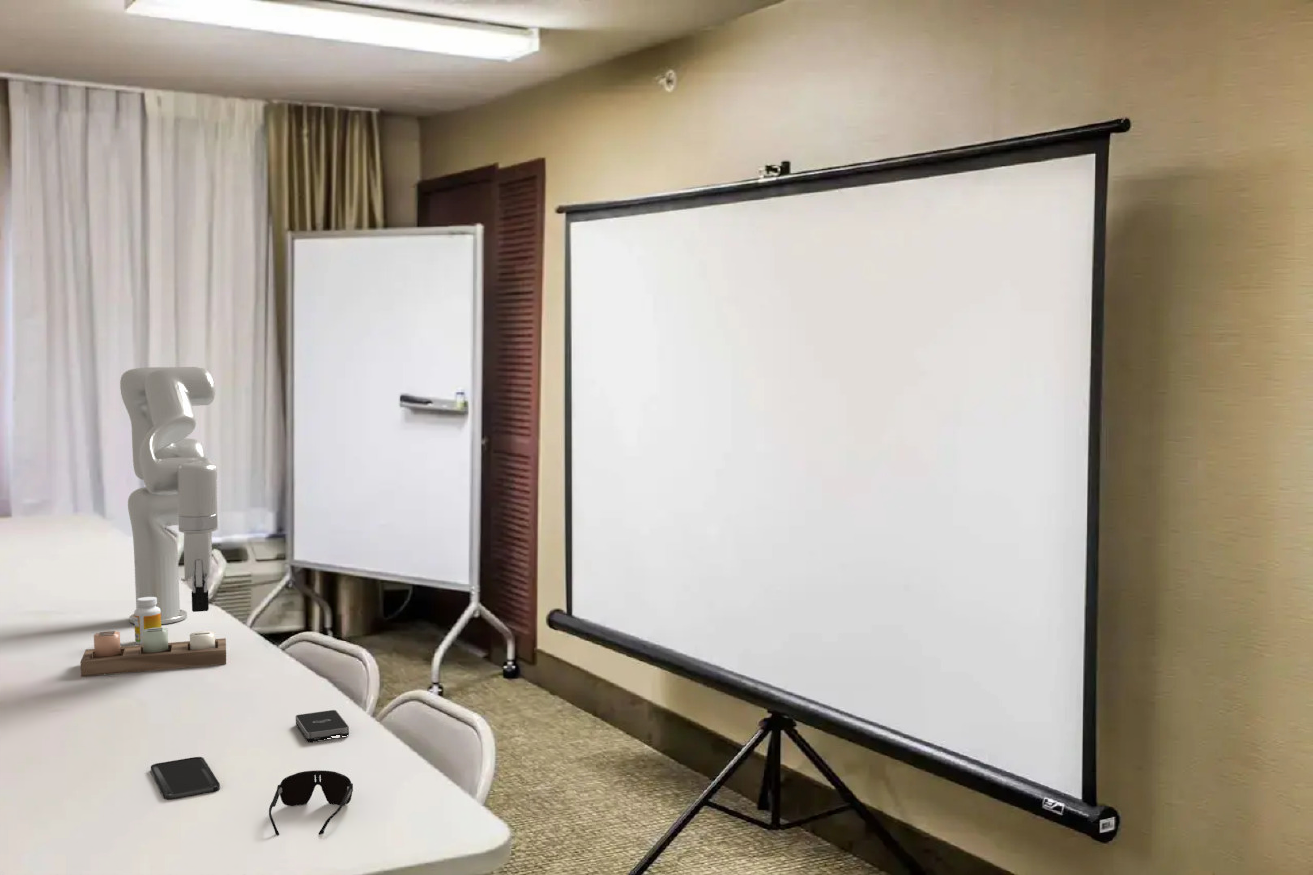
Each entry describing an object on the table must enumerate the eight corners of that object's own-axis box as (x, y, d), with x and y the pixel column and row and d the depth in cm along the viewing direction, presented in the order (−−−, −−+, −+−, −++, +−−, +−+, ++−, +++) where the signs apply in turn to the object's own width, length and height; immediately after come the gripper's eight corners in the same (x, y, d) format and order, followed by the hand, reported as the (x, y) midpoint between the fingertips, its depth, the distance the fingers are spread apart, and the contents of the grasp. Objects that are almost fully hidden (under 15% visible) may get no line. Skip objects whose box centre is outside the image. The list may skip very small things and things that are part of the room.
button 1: (190, 651, 256) (190, 631, 255) (215, 649, 257) (214, 629, 257) (190, 656, 251) (189, 637, 251) (215, 654, 253) (214, 635, 252)
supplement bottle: (166, 639, 272) (164, 596, 271) (154, 645, 266) (152, 601, 265) (143, 638, 272) (141, 595, 271) (130, 645, 267) (128, 600, 266)
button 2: (143, 647, 252) (142, 628, 252) (168, 645, 254) (168, 626, 254) (142, 653, 248) (141, 633, 248) (167, 651, 249) (167, 631, 249)
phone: (165, 796, 177) (149, 764, 190) (165, 803, 178) (149, 771, 190) (221, 785, 181) (202, 755, 194) (222, 793, 182) (203, 762, 194)
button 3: (95, 651, 249) (94, 631, 249) (121, 649, 251) (120, 629, 251) (93, 657, 245) (92, 637, 245) (119, 655, 247) (118, 635, 246)
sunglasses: (356, 801, 178) (354, 769, 176) (338, 846, 166) (336, 812, 165) (282, 802, 177) (280, 770, 176) (259, 847, 165) (257, 813, 164)
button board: (86, 663, 251) (85, 649, 251) (226, 652, 260) (225, 638, 260) (81, 676, 242) (80, 661, 242) (226, 664, 251) (225, 649, 251)
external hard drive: (307, 745, 202) (307, 733, 202) (295, 726, 212) (294, 714, 212) (349, 739, 205) (349, 727, 205) (335, 720, 215) (335, 709, 215)
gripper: (179, 517, 258) (182, 603, 260) (177, 530, 244) (179, 620, 246) (217, 515, 260) (219, 600, 262) (217, 528, 246) (219, 618, 248)
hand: (200, 610), depth 254 cm, fingers closed
